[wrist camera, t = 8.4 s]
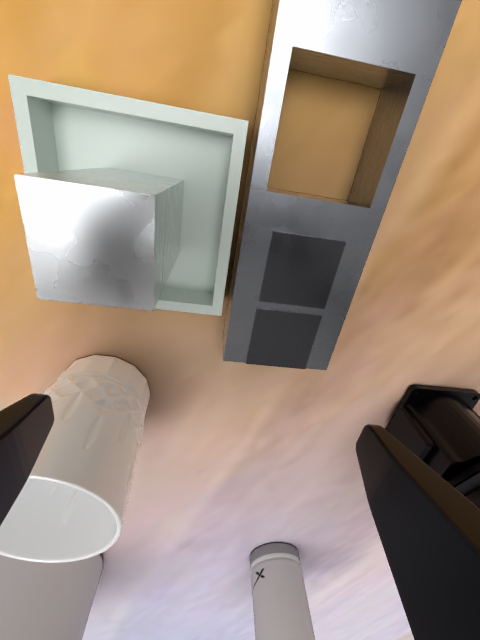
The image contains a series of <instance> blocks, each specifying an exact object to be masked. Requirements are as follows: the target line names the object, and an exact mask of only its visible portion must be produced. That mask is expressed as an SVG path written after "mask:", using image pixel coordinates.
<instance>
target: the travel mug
mask: <svg viewBox="0 0 480 640" xmlns="http://www.w3.org/2000/svg"><path fill="white" fill-rule="evenodd" d="M250 569H251V583H252V597H253V611H254V625H255V639H256V640H315V636H314V631H313V626H312V620H311V615H310V610H309V605H308V600H307V595H306V590H305V584H304V579H303V574H302V569H301V567H300V559H299V554H298V551H297V549H296V548H295V547H293V546H292V545H289V544H286V543H269V544H265V545H262V546H260V547H258V548H257V549H255V550H254V551H253V552H252V554H251V555H250Z"/></svg>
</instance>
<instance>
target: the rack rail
mask: <svg viewBox="0 0 480 640" xmlns="http://www.w3.org/2000/svg"><path fill="white" fill-rule="evenodd" d="M461 1H462V0H273V5H272V11H271V18H270V25H269V31H268V38H267V45H266V51H265V58H264V65H263V71H262V78H261V85H260V92H259V98H258V105H257V112H256V118H255V125H254V132H253V138H252V145H251V152H250V158H249V165H248V172H247V178H246V185H245V192H244V198H243V205H242V212H241V218H240V225H239V232H238V239H237V245H236V252H235V259H234V265H233V272H232V279H231V285H230V292H229V299H228V305H227V312H226V319H225V325H224V332H223V361H234V362H245V363H246V364H256V365H267V366H278V367H289V368H299V369H305V368H309V369H320V370H326V369H327V366H328V364H329V361H330V358H331V355H332V353H333V350H334V347H335V345H336V342H337V339H338V336H339V334H340V331H341V328H342V325H343V323H344V320H345V317H346V315H347V312H348V309H349V306H350V304H351V301H352V298H353V295H354V293H355V290H356V287H357V285H358V282H359V279H360V276H361V274H362V271H363V268H364V265H365V263H366V260H367V257H368V255H369V252H370V249H371V246H372V244H373V241H374V238H375V236H376V233H377V230H378V227H379V225H380V222H381V219H382V216H383V214H384V211H385V208H386V206H387V203H388V200H389V197H390V195H391V192H392V189H393V186H394V184H395V181H396V178H397V176H398V173H399V170H400V167H401V165H402V162H403V159H404V156H405V154H406V151H407V148H408V146H409V143H410V140H411V137H412V135H413V132H414V129H415V127H416V124H417V121H418V118H419V116H420V113H421V110H422V107H423V105H424V102H425V99H426V97H427V94H428V91H429V88H430V86H431V83H432V80H433V77H434V75H435V72H436V69H437V67H438V64H439V61H440V58H441V56H442V53H443V50H444V48H445V45H446V42H447V39H448V37H449V34H450V31H451V28H452V26H453V23H454V20H455V18H456V15H457V12H458V9H459V7H460V4H461ZM288 69H293V70H298V71H302V72H307V73H311V74H316V75H320V76H325V77H329V78H334V79H338V80H343V81H347V82H352V83H357V84H361V85H366V86H370V87H375V88H379V89H382V91H381V94H380V98H379V101H378V104H377V107H376V111H375V114H374V117H373V120H372V124H371V127H370V130H369V133H368V137H367V140H366V143H365V146H364V150H363V153H362V156H361V160H360V163H359V166H358V169H357V173H356V176H355V179H354V182H353V186H352V189H351V192H350V195H349V199H348V201H345V200H339V199H333V198H327V197H321V196H315V195H309V194H303V193H297V192H292V191H286V190H280V189H274V188H268V187H267V185H268V179H269V174H270V168H271V163H272V157H273V152H274V146H275V141H276V135H277V130H278V124H279V119H280V113H281V108H282V102H283V97H284V91H285V86H286V80H287V75H288Z"/></svg>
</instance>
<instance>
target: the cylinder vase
mask: <svg viewBox="0 0 480 640" xmlns="http://www.w3.org/2000/svg"><path fill="white" fill-rule="evenodd" d="M102 568H103V561H102V557H101V555H100V554H98V555H96V556H93V557H90V558H87V559H83V560H78V561H72V562H62V563H43V562H31V561H24V560H19V559H14V558H10V557H6V556H3V555H0V640H82V637H83V634H84V630H85V627H86V623H87V620H88V617H89V613H90V610H91V606H92V603H93V599H94V596H95V593H96V589H97V586H98V582H99V579H100V575H101V572H102Z"/></svg>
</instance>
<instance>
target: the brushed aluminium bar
mask: <svg viewBox="0 0 480 640" xmlns="http://www.w3.org/2000/svg"><path fill="white" fill-rule="evenodd" d="M14 178H15V183H16V188H17V194H18V199H19V204H20V209H21V215H22V220H23V225H24V230H25V235H26V241H27V246H28V251H29V256H30V261H31V267H32V272H33V277H34V282H35V288H36V293H37V298H38V299H43V300H52V301H62V302H71V303H81V304H90V305H100V306H109V307H119V308H128V309H138V310H147V311H154V309H155V307H156V304H157V302H158V300H159V298H160V295H161V293H162V291H163V289H164V286H165V284H166V282H167V280H168V278H169V275H170V273H171V271H172V269H173V266H174V264H175V262H176V260H177V257H178V255H179V253H180V245H181V227H182V208H183V190H184V179H178V178H172V177H165V176H159V175H153V174H147V173H140V172H134V171H128V170H121V169H115V168H109V167H104V168H90V169H77V170H63V171H49V172H35V173H21V174H14Z"/></svg>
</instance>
